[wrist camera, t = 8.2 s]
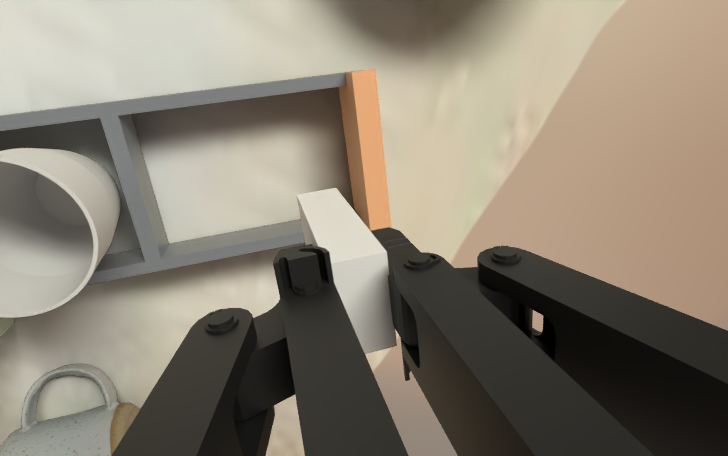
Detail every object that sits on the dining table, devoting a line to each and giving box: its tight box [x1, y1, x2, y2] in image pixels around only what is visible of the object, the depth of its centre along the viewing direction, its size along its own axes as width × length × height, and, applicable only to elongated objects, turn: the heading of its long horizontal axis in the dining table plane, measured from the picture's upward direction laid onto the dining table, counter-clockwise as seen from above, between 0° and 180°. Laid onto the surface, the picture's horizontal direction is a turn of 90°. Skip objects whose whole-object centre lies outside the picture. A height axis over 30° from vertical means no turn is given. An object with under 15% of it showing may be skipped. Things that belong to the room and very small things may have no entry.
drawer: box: [0, 69, 391, 285], centre depth 29 cm, size 11×28×5 cm, turn 97°
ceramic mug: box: [0, 364, 140, 456], centre depth 32 cm, size 11×8×8 cm
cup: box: [0, 148, 120, 318], centre depth 25 cm, size 8×8×10 cm
